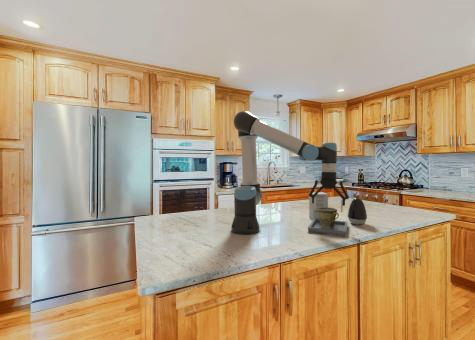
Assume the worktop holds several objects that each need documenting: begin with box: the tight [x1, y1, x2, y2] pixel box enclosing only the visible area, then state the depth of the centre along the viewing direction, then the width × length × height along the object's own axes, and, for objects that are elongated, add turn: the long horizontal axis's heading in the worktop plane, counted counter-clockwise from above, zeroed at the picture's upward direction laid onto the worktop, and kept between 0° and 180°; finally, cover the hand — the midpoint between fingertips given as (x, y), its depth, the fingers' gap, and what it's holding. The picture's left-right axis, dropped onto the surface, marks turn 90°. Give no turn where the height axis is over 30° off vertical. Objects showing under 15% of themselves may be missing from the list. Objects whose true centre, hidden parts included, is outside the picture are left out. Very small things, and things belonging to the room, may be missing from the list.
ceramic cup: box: [318, 206, 339, 229], centre depth 131 cm, size 13×10×10 cm
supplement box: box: [308, 191, 329, 221], centre depth 153 cm, size 10×9×17 cm
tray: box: [307, 219, 348, 237], centre depth 132 cm, size 18×21×2 cm
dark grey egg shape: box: [347, 197, 368, 226], centre depth 142 cm, size 10×10×15 cm
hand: (327, 210), depth 131 cm, fingers open, 13 cm apart
